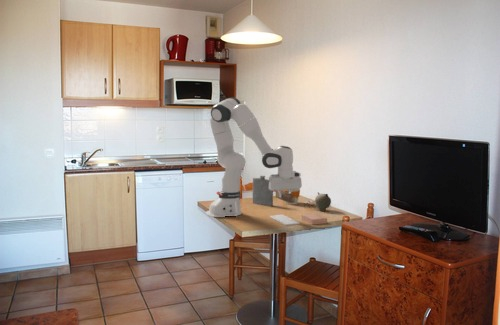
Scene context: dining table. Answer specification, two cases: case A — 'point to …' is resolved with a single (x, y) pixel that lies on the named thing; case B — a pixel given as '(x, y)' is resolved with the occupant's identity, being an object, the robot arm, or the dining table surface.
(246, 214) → the dining table surface
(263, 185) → the hip flask
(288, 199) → the push stick
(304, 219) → the tile
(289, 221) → the tool mat
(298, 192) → the reusable coffee cup
